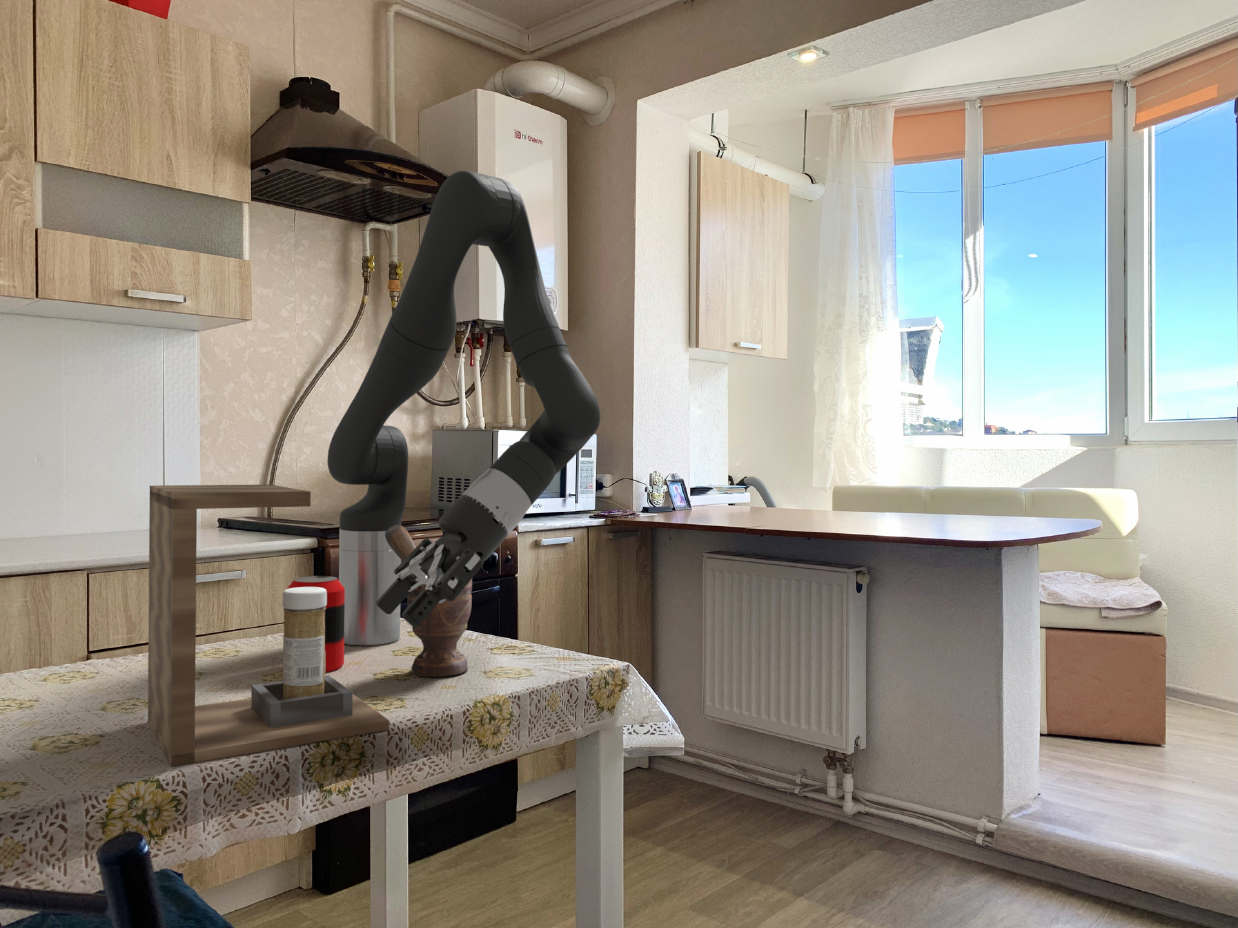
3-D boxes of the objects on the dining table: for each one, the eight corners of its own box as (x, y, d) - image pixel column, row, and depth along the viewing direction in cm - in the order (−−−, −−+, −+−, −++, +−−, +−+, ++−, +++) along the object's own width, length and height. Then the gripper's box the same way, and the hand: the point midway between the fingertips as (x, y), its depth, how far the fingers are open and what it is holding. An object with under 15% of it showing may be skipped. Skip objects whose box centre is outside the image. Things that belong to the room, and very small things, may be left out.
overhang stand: (147, 721, 97) (149, 485, 97) (342, 694, 109) (344, 483, 109) (171, 766, 84) (173, 493, 84) (389, 729, 96) (392, 490, 96)
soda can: (352, 661, 126) (353, 575, 125) (330, 675, 118) (331, 584, 118) (300, 659, 126) (301, 574, 126) (274, 673, 119) (275, 582, 118)
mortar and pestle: (422, 688, 113) (424, 528, 112) (374, 677, 117) (376, 524, 117) (483, 669, 122) (486, 522, 122) (437, 660, 127) (439, 519, 127)
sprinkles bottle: (326, 704, 101) (328, 585, 101) (323, 716, 97) (325, 591, 97) (283, 706, 100) (285, 585, 100) (278, 718, 96) (280, 592, 96)
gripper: (442, 489, 115) (352, 586, 109) (492, 495, 103) (394, 604, 97) (480, 529, 118) (394, 625, 112) (532, 540, 106) (440, 647, 100)
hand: (394, 615), depth 104 cm, fingers open, 8 cm apart
